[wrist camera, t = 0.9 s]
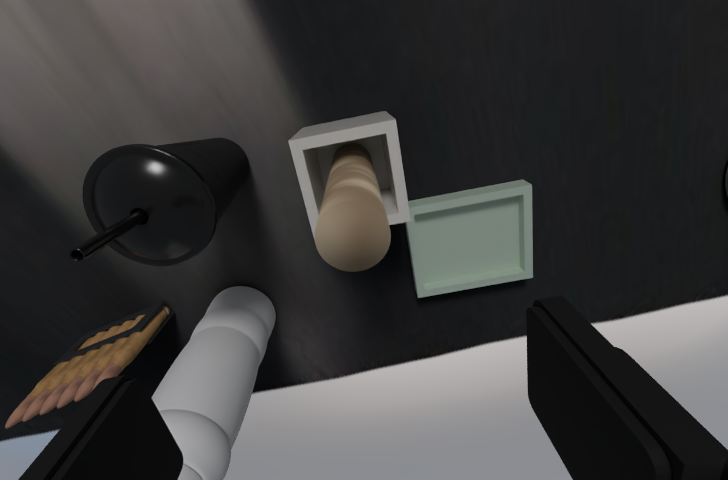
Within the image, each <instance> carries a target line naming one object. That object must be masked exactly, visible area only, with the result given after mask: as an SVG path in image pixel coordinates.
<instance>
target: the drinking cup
mask: <svg viewBox="0 0 728 480" xmlns="http://www.w3.org/2000/svg"><path fill="white" fill-rule="evenodd" d="M248 172H249V163H248V159H247V156H246V154H245V152H244V151H243V150H242V148H241V147H240V146H239V145H237V144H236V143H234V142H233V141H231V140H228V139H225V138H213V139H205V140H197V141H190V142H182V143H174V144H166V145H158V146H153V145H147V144H131V145H125V146H120V147H117V148H114V149H112V150H109V151H107V152H106V153H104V154H103V155H101V156H100V157H99V158H98V159H97V160H96V161H95V162H94V163H93V164H92V166H91V167H90V169H89V170H88V172H87V175H86V177H85V180H84V185H83V203H84V207H85V211H86V214H87V216H88V219H89V221H90V223H91V225H92V226H93V228H94V229H95V231H96V232H97V233H98V234H96V235H95V236H93V237H91V238H90V239H88V240H86V241H85V242H83V243H81V244H79V245H78V246H76V247H74V248H73V249H71V250H70V251H69V256H70V258H71V259H72V260H73V261H75V262H82V261H84V260H86V259H87V258H89V257H90V256H92V255H93V254H95V253H96V252H98V251H99V250H101V249H102V248H104V247H105V246H107V245H109V246H110V247H111V248H113V249H114V250H115V251H117V252H118V253H120V254H121V255H123V256H125V257H127V258H129V259H131V260H133V261H136V262H139V263H142V264H146V265H152V266H173V265H178V264H181V263H184V262H187V261H189V260H191V259H193V258H194V257H196V256H197V255H198V254H200V253H201V252H202V251H203V250H204V249H205V248H206V246H207V245H208V244H209V242H210V241H211V239H212V237H213V235H214V232H215V228H216V224H217V222H218V221H219V219H220V218H221V216H222V215H223V213H224V212H225V210H226V209H227V207H228V205H229V204H230V202H231V201H232V199H233V198H234V196H235V195H236V193H237V192H238V190H239V189H240V187H241V186H242V184H243V182H244V181H245V179H246V178H247V175H248Z"/></svg>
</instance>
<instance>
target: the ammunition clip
mask: <svg viewBox="0 0 728 480" xmlns="http://www.w3.org/2000/svg"><path fill="white" fill-rule="evenodd" d="M173 315H174V312H173V311H172V310H171V308H170V307H169V306H168V304H167V303H166V302H165V301H163V302H160V303H158V304H155V305H153V306H151V307H148V308H146V309H143V310H141V311H139V312H136V313H134V314H131V315H129V316H126V317H124V318H122V319H119V320H117V321H114V322H112V323H110V324H107V325H105V326H102V327H100V328H98V329H95V330H93V331H90V332H88V333H86V334H85V335H84V336H83V337H81V338H80V339H79V340H78V341H77V342H76V343H75V344H74V345H73V346H72V347H71V348H70V349H69V350H68V351H67V352H66V353H65V354H64V355H63V356H62V357H61V358H60V359H59V360H58V361H57V362H56V363H55V364H54V366H55V367H54V368H53V369H52V370H51V371H50V372H49V373H48V374H47V375H46V376H45V377H44V378H43V379H42V380H41V381H40V382H39V383H38V384H37V385H36V387H35V388H34V390H33V391H32V392H31V393H30V394H29V395H28V396H27V397H26V399H25V400H24V401H23V402H22V403H21V404H20V405H19V406H18V407H17V408H16V409H15V411H14V412H13V413H12V415H11V416H10V418H9V419H8V421H7V423H6V426H5V428H9V427H11V426H13V425H15V424H17V423H18V422H20V421H21V420H22V421H23V422H25V421H27V420H29V419H31V418H33V417H34V416H36V415H37V414H38V413H40V415H43V414H45V413H47V412H49V411H50V410H52V409H53V408H55V407H56V406H57V408H61V407H63V406H65V405H66V404H68V403H69V402H71V401H72V400H73V399H74V401H75V402H76V401H79V400H81V399H82V398H84V397H85V396H87V395H88V394H89V393H91V392H92V391H93V389H94V388H95V387H96V386H97V385H98V383H99V382H101V381H102V380H104V379H106V378H111V377H116V376H118V375H119V373H121V371H122V370H123V369H124V368H125V367H126V366H127V365H129V364H130V363H131V362H132V361H133V360H134V359H135V357H136V356H137V355H138V354H139V352H140V351H141V350H142V349H143V347H144V346H146V345H148V344H150V343H151V342H152V341H153V340H154V338H155V337H156V336H157V335H158V333H159V332H160V331H161V330H162V328H163V327H164V326H165V325H166V323H167V322H168V321H169V320H170V319H171V317H172V316H173Z"/></svg>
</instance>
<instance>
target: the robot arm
mask: <svg viewBox="0 0 728 480" xmlns="http://www.w3.org/2000/svg"><path fill="white" fill-rule="evenodd" d="M725 188H726V193H727V197H728V167H727V171H726V179H725ZM526 316H527V371H528V397H529V401H530V404H531V406H532V408H533V410H534V412H535V414H536V416H537V417H538V419H539V421H540V423H541V424H542V426H543V428H544V430H545V431H546V433H547V435H548V437H549V438H550V440H551V442H552V444H553V445H554V447H555V449H556V451H557V452H558V454H559V456H560V458H561V459H562V461H563V463H564V465H565V466H566V468H567V470H568V472H569V474H570V475H571V477H572V479H573V480H728V450H727V449H726V448H725V447H724V446H723V445H722V444H721V443H720V442H719V441H718V440H716V438H714V437H713V436H712V435H711V434H710V433H709V432H708V431H707V430H706V429H705V428H704V427H703V426H702V425H701V424H700V423H699V422H698V421H697V420H696V419H695V418H694V417H693V416H692V415H691V414H689V412H688V411H686V410H685V409H684V408H683V407H682V406H681V405H680V404H679V403H678V402H677V401H676V400H675V399H674V398H673V397H672V396H671V395H670V394H669V393H668V392H667V391H666V390H665V389H663V388H662V386H661V385H659V384H658V383H657V382H656V381H655V380H654V379H653V378H652V377H651V376H650V375H649V374H648V373H647V372H646V371H645V370H644V369H643V368H642V367H641V366H640V365H639V364H638V363H636V362H635V360H634V359H632V358H631V357H630V356H629V355H628V354H627V353H626V352H624V351H623V350H622V349H619V348H617V347H614V346H613V345H612V344H611V343H609V341H608V340H606V339H605V338H604V337H603V336H602V335H601V334H600V333H599V332H598V331H597V330H596V329H595V328H594V327H593V326H592V325H591V324H590V323H589V322H588V321H587V320H586V319H585V318H584V317H583V316H582V315H581V314H580V313H579V312H578V311H577V310H576V309H575V308H574V307H573V306H572V305H571V304H570V303H569V302H568V301H567V300H566V299H565V298H564V297H562V296H555V297H550V298H544V299H539V300H535V301H534V303H533V307H530V308H528V309H527V313H526ZM182 467H183V454H182V452H181V450H180V448H179V446H178V445H177V443H176V441H175V439H174V437H173V436H172V434H171V432H170V430H169V428H168V427H167V425H166V423H165V421H164V420H163V418H162V416H161V414H160V412H159V411H158V409H157V407H156V405H155V403H154V402H153V400H152V398H151V396H150V394H149V393H148V391H147V389H146V387H145V386H144V384H143V382H142V381H141V380H139V379H136V378H135V376H133V375H122V376H116V377H111V378H106V379H104V380H102V381H101V382H99V383H98V385H97V386H96V387H95V388H94V389H93V391H92V392H91V393H90V394H89V395H88V397H87V398H86V399H85V400H84V401H83V403H82V404H81V405H80V406H79V407H78V409H77V410H76V411H75V412H74V413H73V415H72V416H71V417H70V418H69V419H68V421H67V422H66V423H65V424H64V425H63V427H62V428H61V429H60V430H59V431H58V433H57V434H56V435H55V436H54V437H53V439H52V440H51V441H50V442H49V443H48V445H47V446H46V447H45V448H44V450H43V451H42V452H41V453H40V455H39V456H38V457H37V458H36V459H35V460H34V462H33V463H32V464H31V465H30V466H29V468H28V469H27V470H26V471H25V472H24V474H23V475H22V476H21V477H20V478H19V480H178V478H179V475H180V473H181V470H182Z"/></svg>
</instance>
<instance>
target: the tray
mask: <svg viewBox="0 0 728 480" xmlns="http://www.w3.org/2000/svg"><path fill="white" fill-rule="evenodd" d="M408 206H409V213H410V220H411V221H409V222H405V226H406V233H407V239H408V246H409V252H410V258H411V265H412V271H413V278H414V284H415V289H416V293H417V296H418V298H421V297H427V296H432V295H438V294H444V293H449V292H455V291H460V290H466V289H472V288H477V287H483V286H488V285H494V284H500V283H505V282H511V281H516V280H522V279H528V278H533V239H532V184H530V183H528V182H526V181H525V180H518V181H512V182H507V183H502V184H497V185H491V186H486V187H481V188H476V189H470V190H465V191H460V192H455V193H449V194H444V195H439V196H434V197H428V198H423V199H418V200H413V201H408Z"/></svg>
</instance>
